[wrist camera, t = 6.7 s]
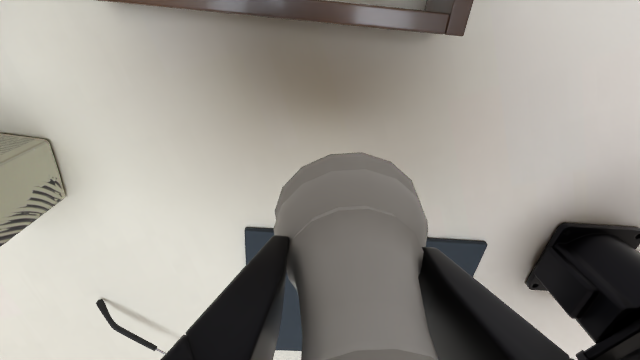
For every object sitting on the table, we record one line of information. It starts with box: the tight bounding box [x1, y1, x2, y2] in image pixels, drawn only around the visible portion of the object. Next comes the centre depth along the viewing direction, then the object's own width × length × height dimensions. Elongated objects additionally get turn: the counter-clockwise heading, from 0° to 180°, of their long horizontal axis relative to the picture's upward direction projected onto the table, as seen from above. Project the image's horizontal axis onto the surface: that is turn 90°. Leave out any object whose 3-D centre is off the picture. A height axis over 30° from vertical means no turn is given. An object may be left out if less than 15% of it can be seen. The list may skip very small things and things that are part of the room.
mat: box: [245, 228, 487, 351], centre depth 26 cm, size 18×14×1 cm
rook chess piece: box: [273, 153, 438, 360], centre depth 6 cm, size 4×4×8 cm
